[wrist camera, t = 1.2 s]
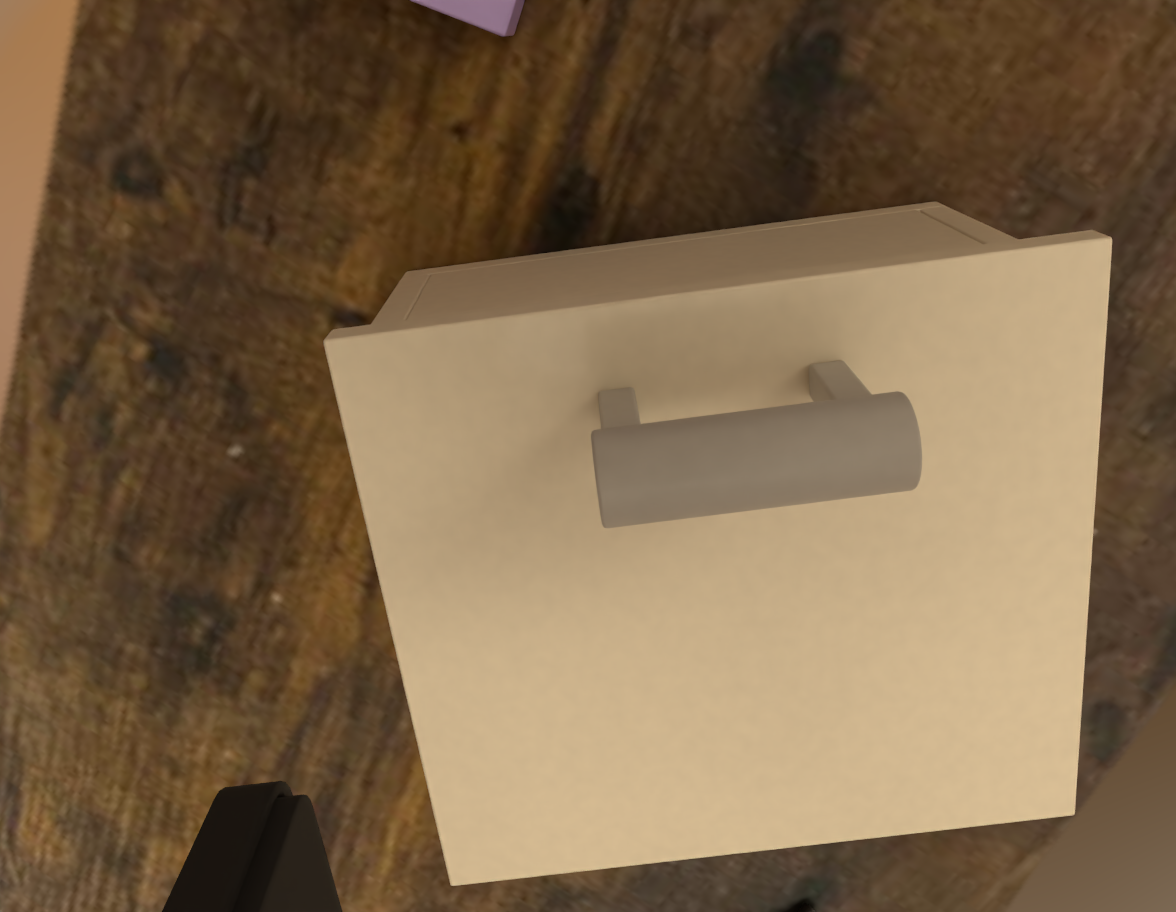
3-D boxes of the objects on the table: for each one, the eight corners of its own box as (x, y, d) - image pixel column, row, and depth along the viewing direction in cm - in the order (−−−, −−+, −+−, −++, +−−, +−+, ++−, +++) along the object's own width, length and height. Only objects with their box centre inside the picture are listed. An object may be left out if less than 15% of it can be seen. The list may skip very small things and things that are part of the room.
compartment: (405, 271, 28) (340, 367, 20) (937, 200, 28) (1089, 270, 20) (481, 657, 33) (453, 860, 25) (936, 602, 33) (1059, 791, 25)
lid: (330, 328, 20) (259, 419, 15) (1093, 228, 19) (1257, 290, 15) (454, 862, 25) (428, 1050, 20) (1060, 792, 25) (1175, 969, 20)
